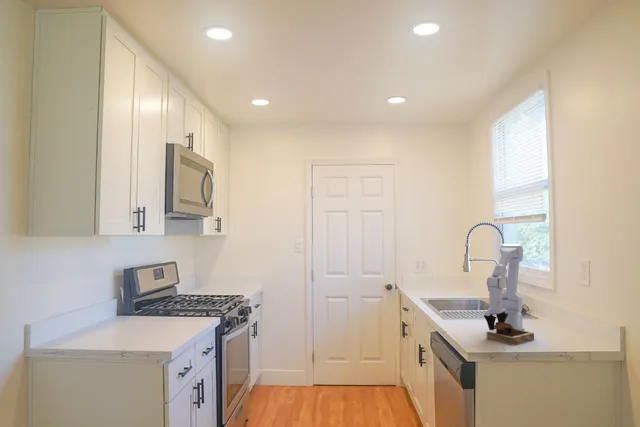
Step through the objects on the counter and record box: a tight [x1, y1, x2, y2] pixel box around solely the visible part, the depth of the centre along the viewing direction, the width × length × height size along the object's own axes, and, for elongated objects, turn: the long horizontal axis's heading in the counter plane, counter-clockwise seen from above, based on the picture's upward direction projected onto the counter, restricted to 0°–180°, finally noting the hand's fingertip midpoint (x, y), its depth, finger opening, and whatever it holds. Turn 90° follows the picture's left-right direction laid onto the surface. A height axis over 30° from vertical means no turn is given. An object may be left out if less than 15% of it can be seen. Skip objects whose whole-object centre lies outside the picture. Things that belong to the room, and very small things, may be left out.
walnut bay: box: [486, 329, 535, 346], centre depth 195 cm, size 17×14×3 cm
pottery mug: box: [494, 321, 515, 337], centre depth 196 cm, size 12×10×8 cm
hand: (496, 328), depth 201 cm, fingers open, 7 cm apart
